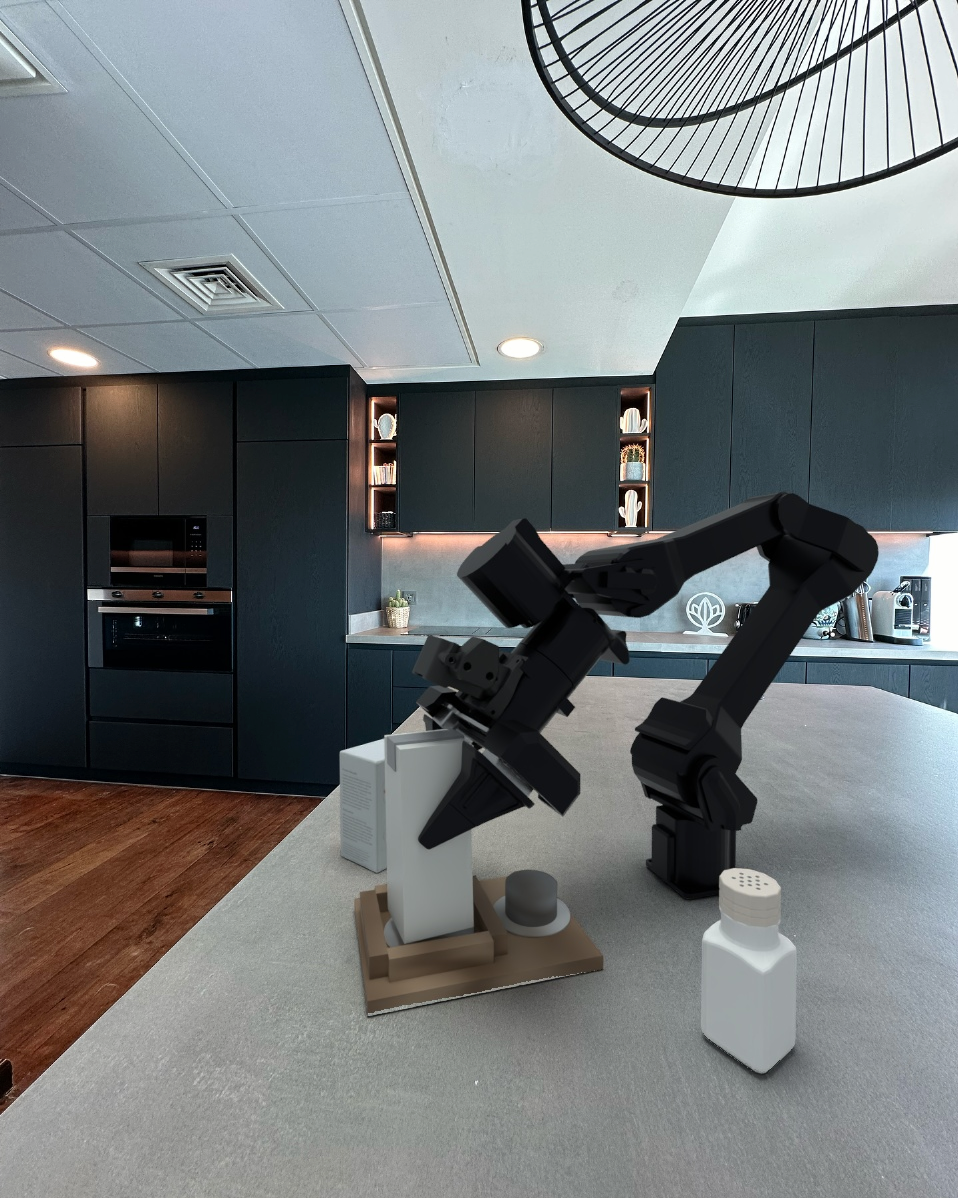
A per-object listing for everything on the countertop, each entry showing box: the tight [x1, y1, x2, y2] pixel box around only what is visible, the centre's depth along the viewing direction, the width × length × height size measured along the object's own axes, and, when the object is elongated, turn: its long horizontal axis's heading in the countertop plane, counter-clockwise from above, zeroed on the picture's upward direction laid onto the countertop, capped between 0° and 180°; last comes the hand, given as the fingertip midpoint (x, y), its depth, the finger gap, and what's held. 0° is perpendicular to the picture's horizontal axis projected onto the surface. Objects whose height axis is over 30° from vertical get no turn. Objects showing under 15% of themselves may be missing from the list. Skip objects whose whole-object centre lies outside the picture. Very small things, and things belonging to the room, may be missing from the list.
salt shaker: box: [700, 867, 798, 1072], centre depth 33 cm, size 4×4×10 cm
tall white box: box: [383, 729, 474, 944], centre depth 42 cm, size 5×5×13 cm
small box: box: [339, 738, 387, 874], centre depth 57 cm, size 8×6×10 cm
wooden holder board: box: [353, 869, 604, 1014], centre depth 43 cm, size 16×12×4 cm
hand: (411, 829), depth 42 cm, fingers closed on tall white box, 5 cm apart
